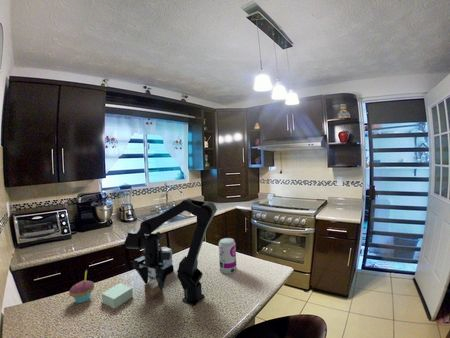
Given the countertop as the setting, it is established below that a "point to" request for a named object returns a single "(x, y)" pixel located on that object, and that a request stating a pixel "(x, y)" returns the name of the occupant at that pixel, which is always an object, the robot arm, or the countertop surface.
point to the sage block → (117, 295)
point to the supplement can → (227, 255)
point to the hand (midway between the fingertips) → (153, 286)
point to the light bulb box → (153, 271)
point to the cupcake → (82, 290)
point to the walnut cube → (152, 290)
